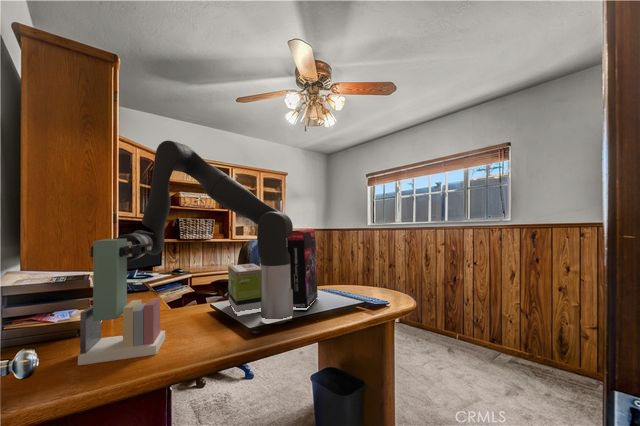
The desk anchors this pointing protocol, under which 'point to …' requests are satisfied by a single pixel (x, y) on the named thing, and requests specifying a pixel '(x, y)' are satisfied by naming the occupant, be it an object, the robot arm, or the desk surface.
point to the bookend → (88, 330)
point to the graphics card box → (303, 267)
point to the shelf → (117, 351)
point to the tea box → (244, 287)
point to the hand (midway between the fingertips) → (108, 252)
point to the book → (109, 279)
